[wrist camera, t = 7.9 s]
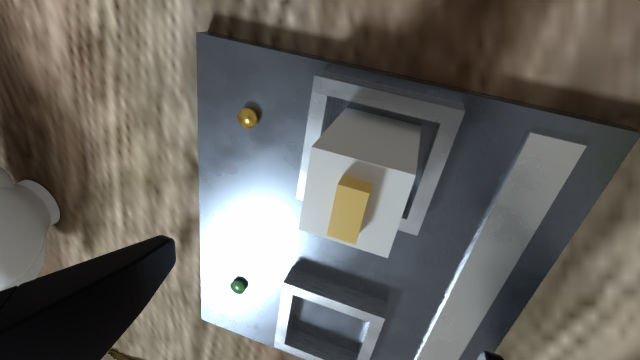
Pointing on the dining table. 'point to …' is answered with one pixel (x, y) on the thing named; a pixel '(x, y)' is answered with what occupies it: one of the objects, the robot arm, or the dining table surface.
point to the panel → (417, 220)
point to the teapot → (23, 229)
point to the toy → (117, 355)
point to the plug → (360, 180)
